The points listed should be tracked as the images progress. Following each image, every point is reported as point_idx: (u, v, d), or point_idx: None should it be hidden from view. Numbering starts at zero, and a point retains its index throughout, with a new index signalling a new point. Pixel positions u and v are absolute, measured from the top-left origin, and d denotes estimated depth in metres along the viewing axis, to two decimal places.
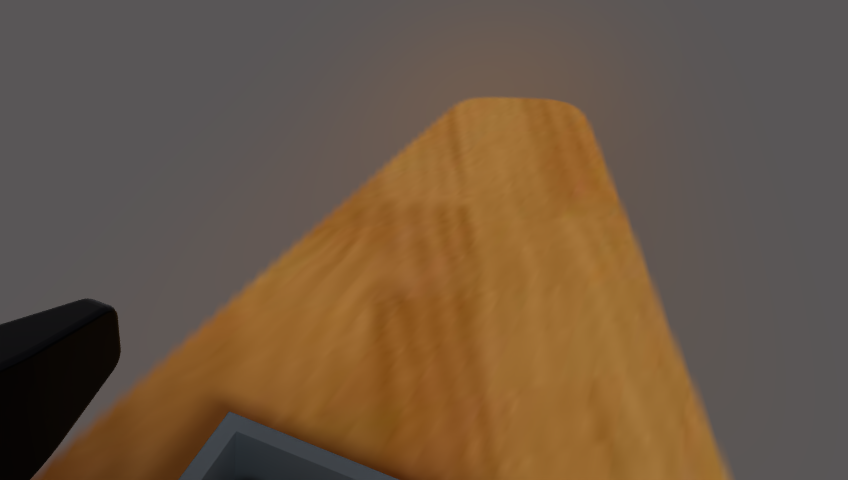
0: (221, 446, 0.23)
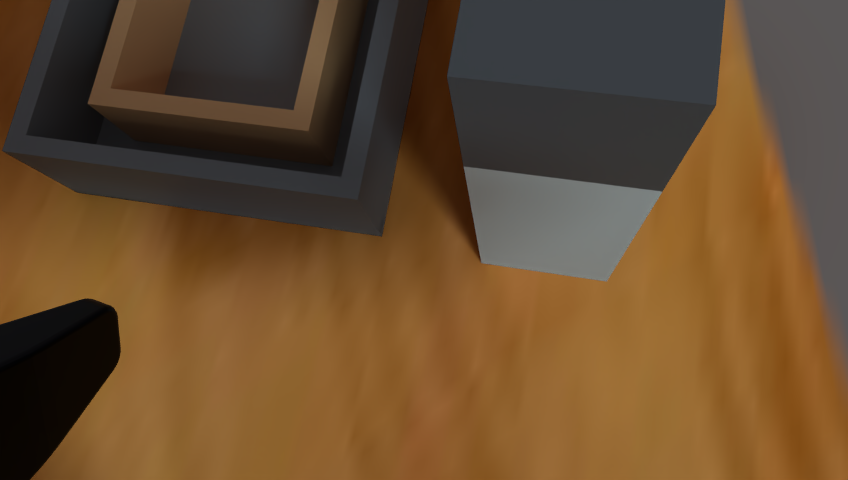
0: None
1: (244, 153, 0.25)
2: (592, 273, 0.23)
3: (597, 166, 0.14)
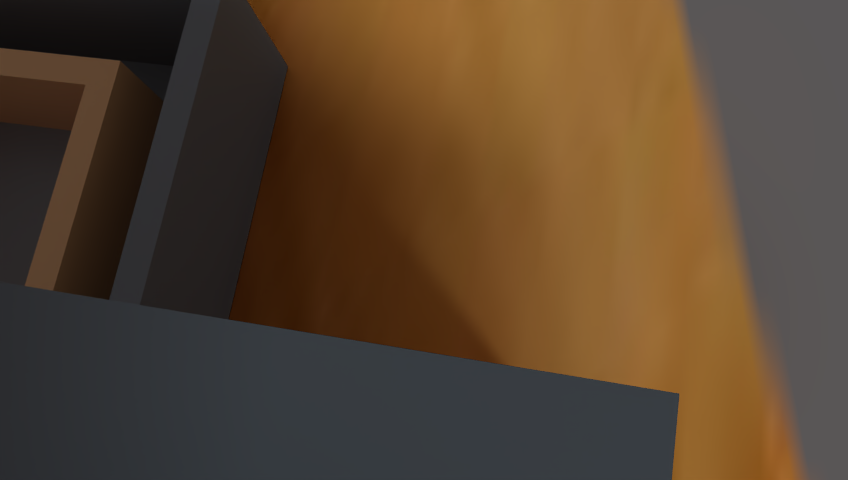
0: None
1: None
2: None
3: None
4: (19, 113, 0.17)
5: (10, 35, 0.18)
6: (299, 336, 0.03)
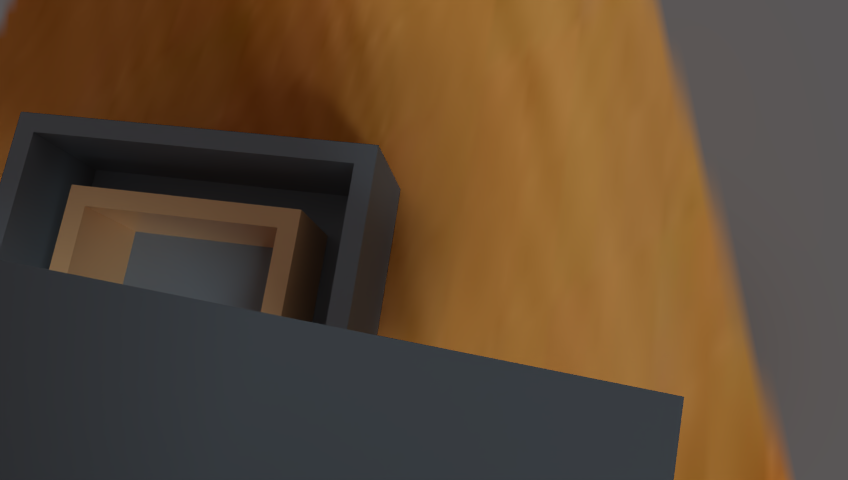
0: (24, 153, 0.22)
1: None
2: None
3: None
4: (206, 235, 0.23)
5: (193, 173, 0.24)
6: (310, 327, 0.03)
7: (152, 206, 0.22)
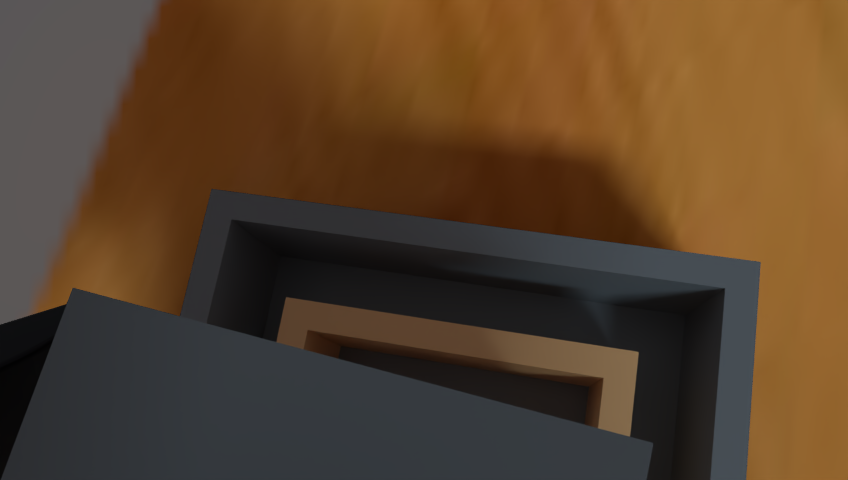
0: (219, 251, 0.15)
1: None
2: None
3: None
4: (454, 362, 0.17)
5: (429, 271, 0.17)
6: (386, 375, 0.05)
7: (409, 336, 0.15)
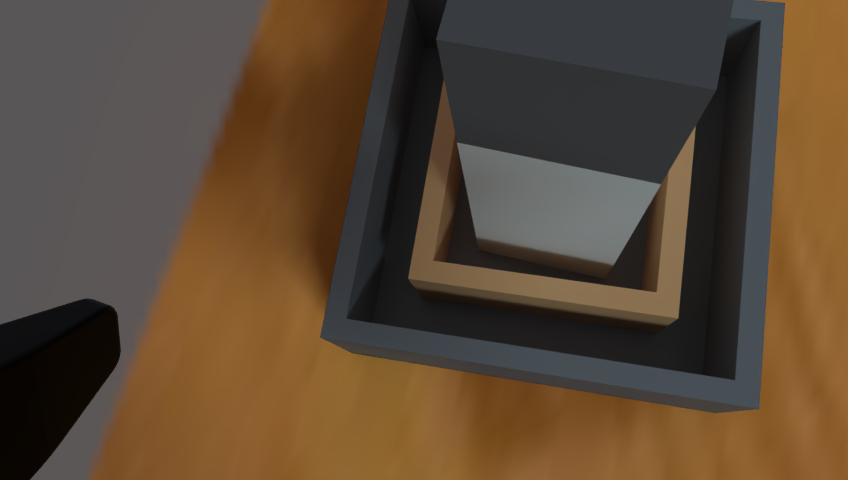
0: (403, 11, 0.22)
1: (553, 316, 0.22)
2: (590, 269, 0.22)
3: (593, 151, 0.13)
4: None
5: None
6: None
7: None
